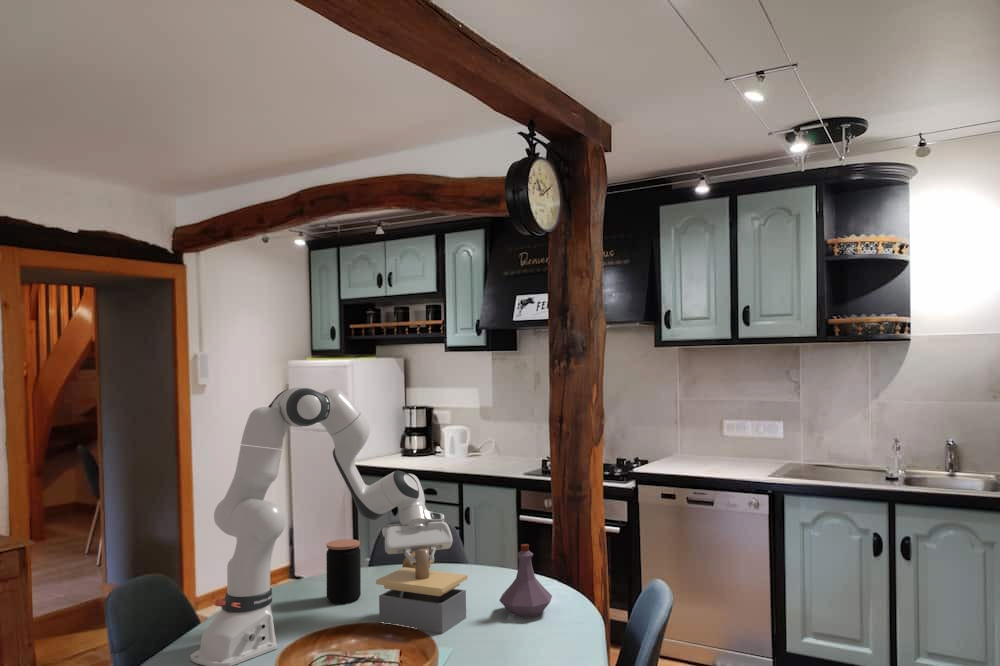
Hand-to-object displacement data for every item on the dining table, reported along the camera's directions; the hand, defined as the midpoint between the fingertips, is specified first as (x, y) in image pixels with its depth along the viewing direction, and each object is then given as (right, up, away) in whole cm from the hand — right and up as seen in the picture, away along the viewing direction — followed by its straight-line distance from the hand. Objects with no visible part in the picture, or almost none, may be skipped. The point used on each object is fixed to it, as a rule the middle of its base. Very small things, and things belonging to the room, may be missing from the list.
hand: (422, 562), depth 211 cm
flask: (+30, -17, +5) cm, 35 cm away
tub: (0, -17, 0) cm, 17 cm away
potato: (-7, -20, +45) cm, 50 cm away
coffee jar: (-28, -19, +21) cm, 39 cm away
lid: (0, -7, 0) cm, 7 cm away
